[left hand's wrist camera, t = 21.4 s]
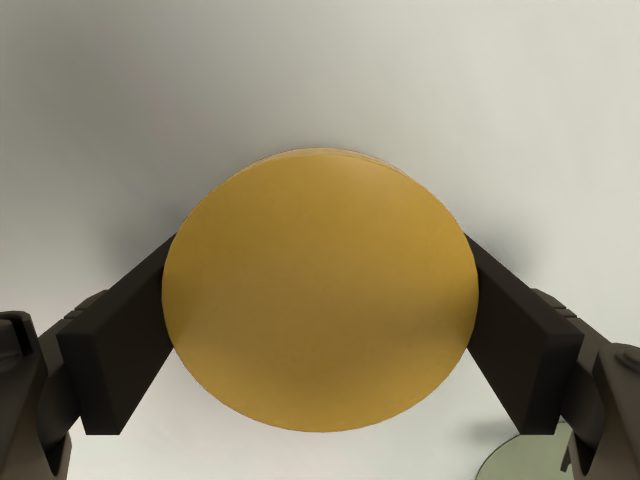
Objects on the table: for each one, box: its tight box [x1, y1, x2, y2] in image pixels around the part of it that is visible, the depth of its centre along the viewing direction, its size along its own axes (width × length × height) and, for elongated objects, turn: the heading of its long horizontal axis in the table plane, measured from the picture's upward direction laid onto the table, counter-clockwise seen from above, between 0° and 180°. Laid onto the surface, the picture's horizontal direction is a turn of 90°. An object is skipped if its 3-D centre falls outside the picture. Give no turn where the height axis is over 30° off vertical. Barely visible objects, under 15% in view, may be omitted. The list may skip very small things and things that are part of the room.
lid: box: [162, 147, 479, 432], centre depth 11 cm, size 9×9×2 cm
